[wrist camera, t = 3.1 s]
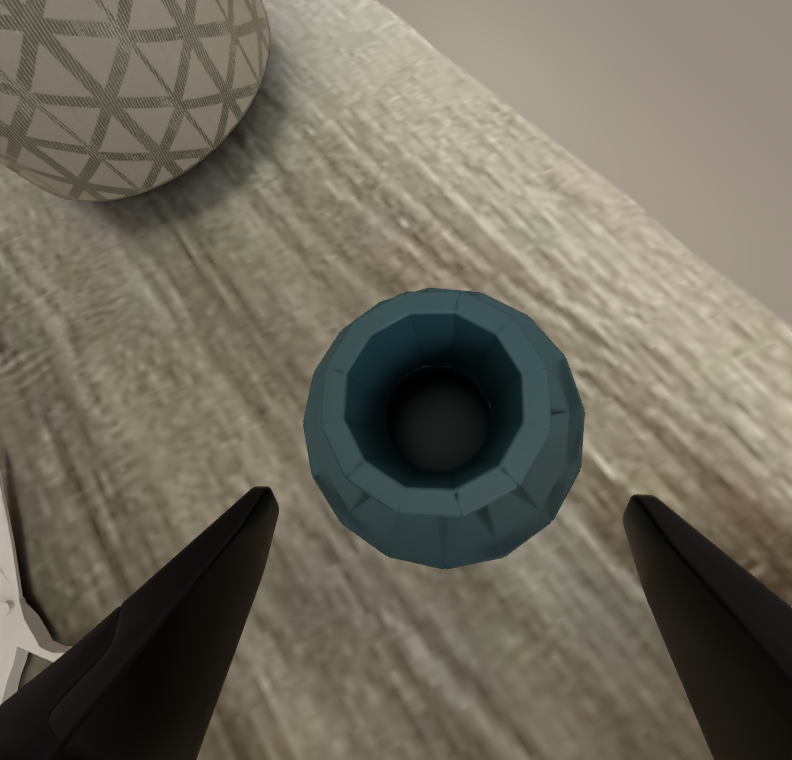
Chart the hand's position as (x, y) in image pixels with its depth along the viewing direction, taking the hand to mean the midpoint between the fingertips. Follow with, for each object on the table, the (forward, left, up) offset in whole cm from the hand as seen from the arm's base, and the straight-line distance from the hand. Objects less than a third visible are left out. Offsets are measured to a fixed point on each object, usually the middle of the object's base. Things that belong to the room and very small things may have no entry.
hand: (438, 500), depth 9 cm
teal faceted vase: (+2, +1, -9) cm, 10 cm away
